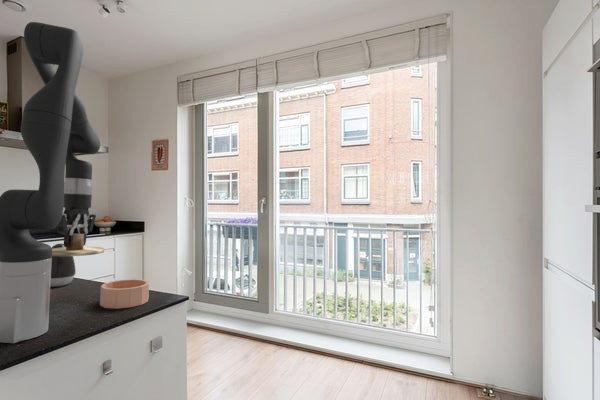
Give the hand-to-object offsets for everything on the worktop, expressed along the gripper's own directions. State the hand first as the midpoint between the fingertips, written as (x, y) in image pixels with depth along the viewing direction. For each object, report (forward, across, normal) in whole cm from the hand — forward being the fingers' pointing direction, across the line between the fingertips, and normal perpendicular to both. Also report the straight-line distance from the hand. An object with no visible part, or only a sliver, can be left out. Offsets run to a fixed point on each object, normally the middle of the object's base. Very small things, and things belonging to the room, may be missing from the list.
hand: (75, 246), depth 100 cm
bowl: (+17, 0, -18) cm, 24 cm away
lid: (+2, 0, 0) cm, 2 cm away
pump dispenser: (+17, +13, +18) cm, 28 cm away
